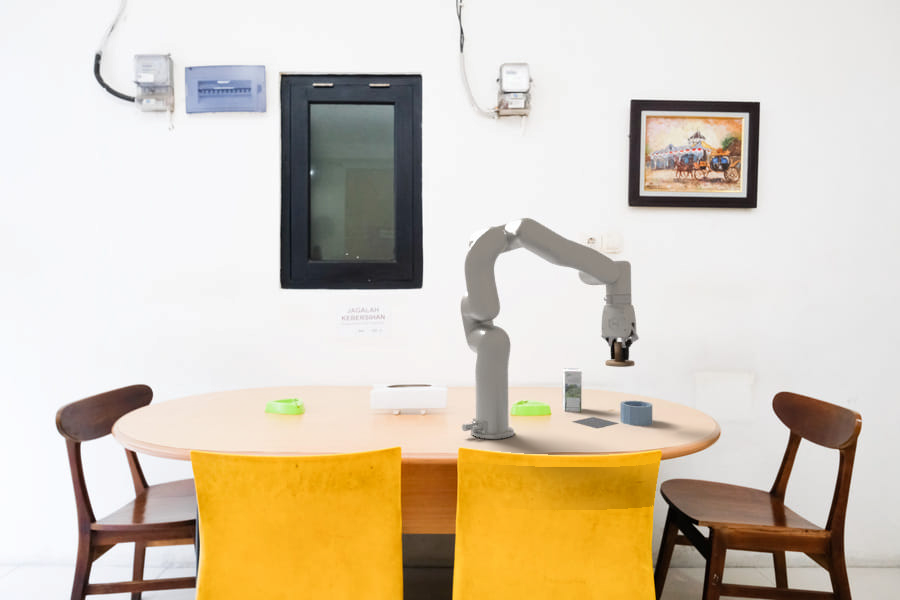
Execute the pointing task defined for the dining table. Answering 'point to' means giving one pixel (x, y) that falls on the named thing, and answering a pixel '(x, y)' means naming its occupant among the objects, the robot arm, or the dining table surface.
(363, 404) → the dining table surface
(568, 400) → the syrup box
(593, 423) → the mat
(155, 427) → the dining table surface
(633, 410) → the blue round pot
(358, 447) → the dining table surface
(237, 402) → the dining table surface
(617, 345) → the lid
